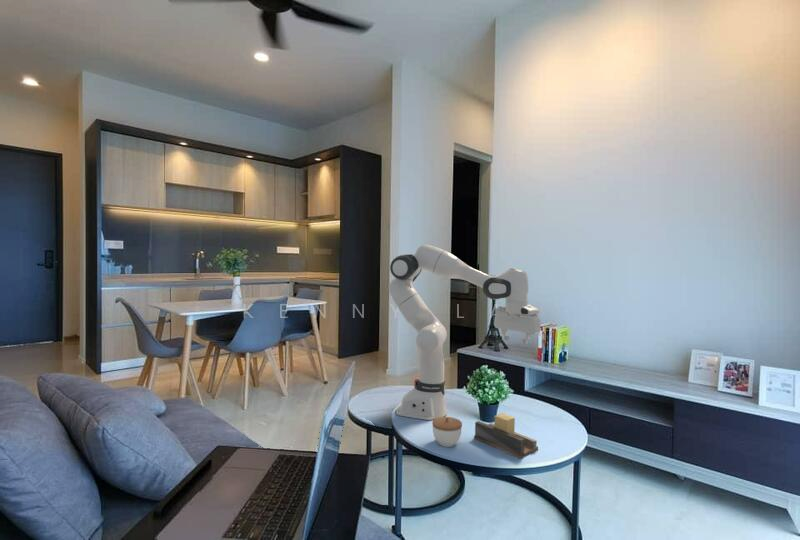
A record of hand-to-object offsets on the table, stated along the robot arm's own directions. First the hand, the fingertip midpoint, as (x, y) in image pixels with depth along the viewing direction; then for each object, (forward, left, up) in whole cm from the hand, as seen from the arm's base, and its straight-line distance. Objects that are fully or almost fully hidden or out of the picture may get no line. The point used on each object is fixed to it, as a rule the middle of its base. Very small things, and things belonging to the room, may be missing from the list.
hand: (515, 341), depth 166 cm
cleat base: (-5, -20, -34) cm, 40 cm away
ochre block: (-5, -20, -33) cm, 39 cm away
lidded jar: (-26, -24, -34) cm, 49 cm away
